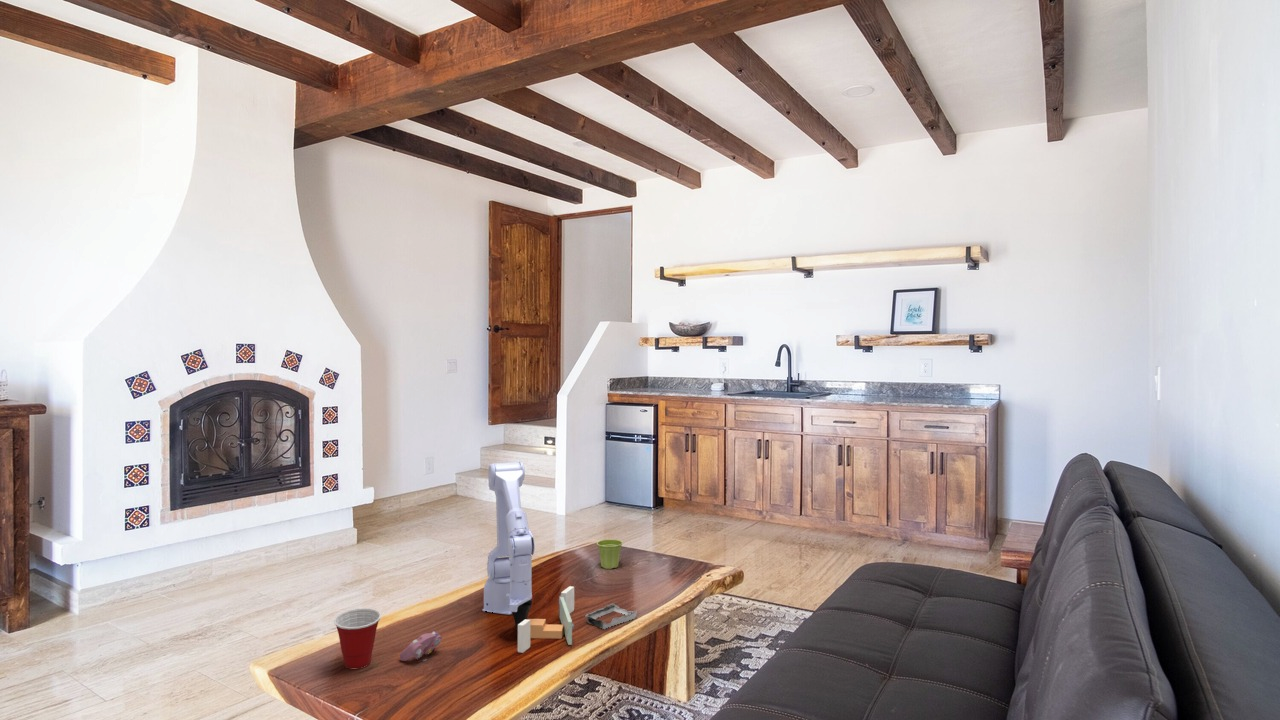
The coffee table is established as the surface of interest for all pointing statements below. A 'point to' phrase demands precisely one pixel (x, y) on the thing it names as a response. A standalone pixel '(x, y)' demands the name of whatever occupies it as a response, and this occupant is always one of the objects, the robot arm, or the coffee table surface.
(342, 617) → the plastic cup
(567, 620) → the door
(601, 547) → the plant pot
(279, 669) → the coffee table surface
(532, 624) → the stepped wooden block
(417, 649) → the pink elongated piece
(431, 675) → the coffee table surface
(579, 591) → the coffee table surface
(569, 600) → the door frame
